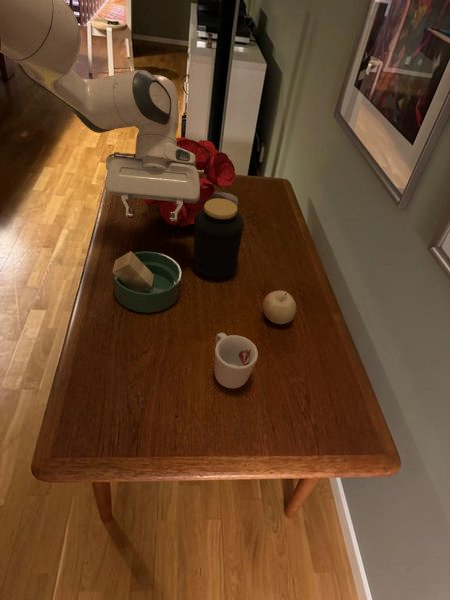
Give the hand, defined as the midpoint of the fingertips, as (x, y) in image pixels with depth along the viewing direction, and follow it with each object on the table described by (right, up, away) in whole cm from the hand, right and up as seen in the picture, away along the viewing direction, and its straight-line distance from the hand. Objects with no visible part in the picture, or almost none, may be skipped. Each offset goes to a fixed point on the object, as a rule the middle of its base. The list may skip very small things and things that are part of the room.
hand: (151, 219), depth 87 cm
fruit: (+28, -22, +6) cm, 36 cm away
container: (+13, -10, +16) cm, 23 cm away
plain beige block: (-2, -14, +5) cm, 15 cm away
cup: (+16, -32, -7) cm, 37 cm away
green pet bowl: (-2, -16, +6) cm, 17 cm away
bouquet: (+6, +7, +33) cm, 34 cm away
